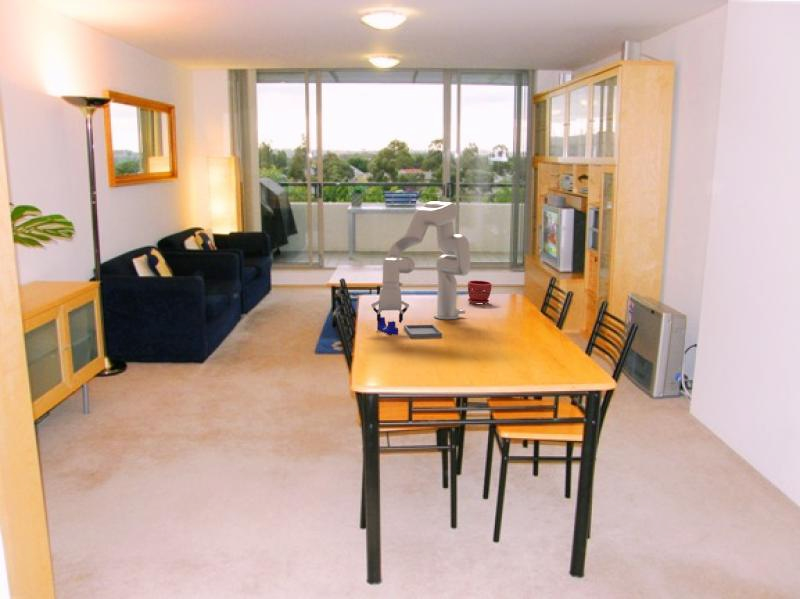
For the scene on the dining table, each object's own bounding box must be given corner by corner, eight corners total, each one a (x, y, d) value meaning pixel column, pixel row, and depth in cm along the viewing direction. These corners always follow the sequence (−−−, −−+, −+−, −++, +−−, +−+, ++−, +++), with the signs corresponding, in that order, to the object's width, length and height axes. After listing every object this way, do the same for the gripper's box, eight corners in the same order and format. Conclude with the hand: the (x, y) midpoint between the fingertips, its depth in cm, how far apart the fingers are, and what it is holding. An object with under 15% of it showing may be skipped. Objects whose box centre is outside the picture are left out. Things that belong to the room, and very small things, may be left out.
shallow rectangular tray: (433, 328, 337) (433, 324, 337) (441, 337, 320) (441, 333, 319) (403, 329, 335) (403, 325, 335) (410, 338, 318) (410, 334, 317)
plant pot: (468, 305, 396) (469, 283, 394) (466, 300, 409) (466, 280, 407) (492, 305, 396) (493, 284, 394) (489, 301, 409) (489, 280, 407)
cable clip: (398, 334, 325) (398, 321, 324) (389, 335, 323) (389, 322, 322) (386, 329, 336) (386, 316, 335) (377, 330, 334) (377, 317, 332)
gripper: (408, 284, 331) (406, 320, 334) (370, 284, 328) (369, 320, 331) (411, 286, 324) (409, 324, 327) (372, 286, 321) (371, 324, 324)
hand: (389, 322), depth 329 cm, fingers open, 9 cm apart
